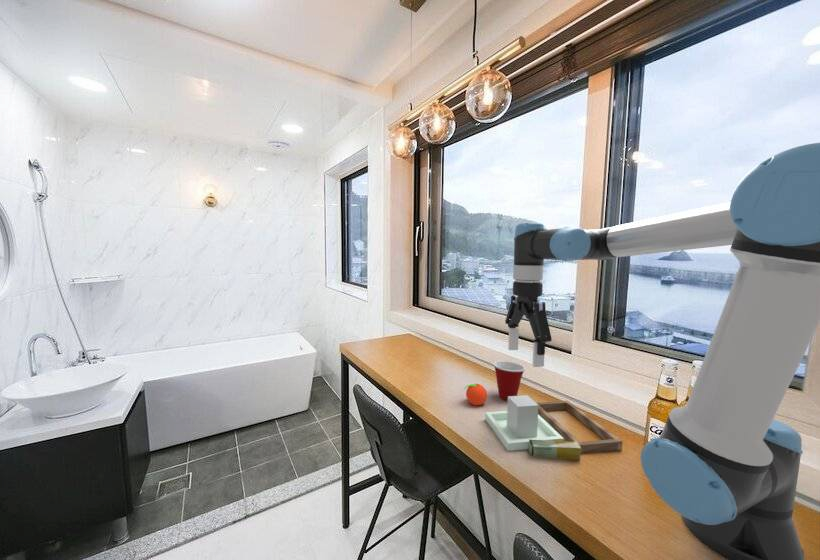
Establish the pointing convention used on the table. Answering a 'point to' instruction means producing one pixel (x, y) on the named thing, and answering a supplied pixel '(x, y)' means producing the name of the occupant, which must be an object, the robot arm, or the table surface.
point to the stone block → (522, 416)
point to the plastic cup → (508, 378)
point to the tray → (509, 440)
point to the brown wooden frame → (589, 446)
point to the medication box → (555, 449)
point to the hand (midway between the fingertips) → (524, 357)
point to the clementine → (476, 394)
